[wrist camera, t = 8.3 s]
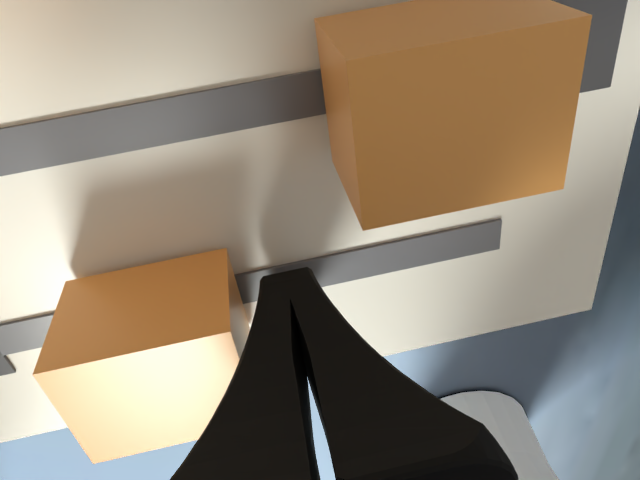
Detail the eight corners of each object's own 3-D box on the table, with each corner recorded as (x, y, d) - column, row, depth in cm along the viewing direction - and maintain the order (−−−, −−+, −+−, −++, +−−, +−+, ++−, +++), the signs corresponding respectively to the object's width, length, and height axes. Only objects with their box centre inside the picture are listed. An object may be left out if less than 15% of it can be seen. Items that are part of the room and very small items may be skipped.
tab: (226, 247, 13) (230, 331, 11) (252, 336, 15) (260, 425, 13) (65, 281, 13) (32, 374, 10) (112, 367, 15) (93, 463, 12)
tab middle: (505, -17, 11) (592, 15, 8) (494, 129, 13) (563, 188, 10) (313, 18, 10) (345, 61, 8) (332, 161, 12) (363, 230, 10)
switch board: (734, -597, 8) (833, -686, 7) (566, 281, 19) (592, 311, 17) (-688, -447, 7) (-899, -525, 6) (-9, 408, 17) (-25, 451, 16)
